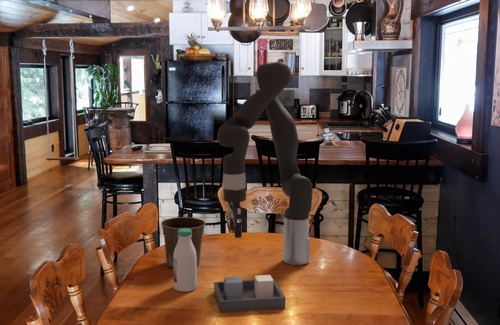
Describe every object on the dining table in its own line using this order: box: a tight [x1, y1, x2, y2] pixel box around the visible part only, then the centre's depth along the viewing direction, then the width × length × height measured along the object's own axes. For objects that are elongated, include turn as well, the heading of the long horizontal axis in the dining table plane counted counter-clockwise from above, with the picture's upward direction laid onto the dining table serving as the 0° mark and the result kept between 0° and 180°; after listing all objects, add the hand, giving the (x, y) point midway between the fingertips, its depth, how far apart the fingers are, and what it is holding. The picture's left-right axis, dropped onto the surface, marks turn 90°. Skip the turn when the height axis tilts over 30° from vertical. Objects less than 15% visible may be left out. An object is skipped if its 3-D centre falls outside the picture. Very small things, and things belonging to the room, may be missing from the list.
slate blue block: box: [223, 275, 243, 300], centre depth 180 cm, size 5×5×6 cm
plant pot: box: [160, 216, 206, 268], centre depth 212 cm, size 16×16×16 cm
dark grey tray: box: [213, 278, 286, 314], centre depth 181 cm, size 20×16×4 cm
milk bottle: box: [172, 228, 198, 293], centre depth 189 cm, size 8×8×20 cm
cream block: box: [254, 274, 274, 298], centre depth 181 cm, size 5×5×6 cm
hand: (235, 233), depth 191 cm, fingers open, 8 cm apart
